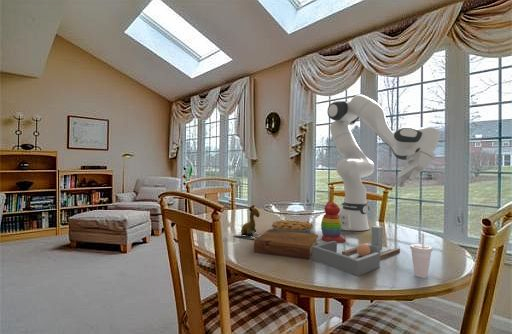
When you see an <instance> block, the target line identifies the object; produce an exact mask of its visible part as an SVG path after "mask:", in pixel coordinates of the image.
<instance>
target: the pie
mask: <svg viewBox="0 0 512 334" xmlns="http://www.w3.org/2000/svg"><path fill="white" fill-rule="evenodd" d="M289 220H290V219H287V220H285V219H280V220H279V221H278V220H277V221H273V222H272V225H271V227H272V228H273V230H275V231H285V232H296V233H307V234H311V230H312V229H313V228H314V225H313V223H310V222H309V221H304V222H300V221H301V220H298V221H289Z"/></svg>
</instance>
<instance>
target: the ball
mask: <svg viewBox="0 0 512 334" xmlns="http://www.w3.org/2000/svg"><path fill="white" fill-rule="evenodd" d="M356 247H357V253H356V254H358V255H359V257H364V256H366V255H369V254H371V253H370V248H369V246H368V245H366V244H365V243H360V244H358V245H357V246H356Z"/></svg>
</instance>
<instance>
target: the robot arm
mask: <svg viewBox="0 0 512 334" xmlns="http://www.w3.org/2000/svg"><path fill="white" fill-rule="evenodd" d="M326 112H327V116H328V118H329V119H330V120H332V121H333V122H331V124H330V127H329V130H330V134H331V137H332V140H333V143H334V145H335V147H336V151H337V152H338V154H339V155H340V156H341V157H343V159H341V160H339V161H338V162H337V163H336V169H335V170H336V173H337V175H338V176H339V177H340V178H341V181H342V182H343V186H344V194H345V195H344V197H345V198H344V200H345V201H344V202H342V203H340V204H341V206H342V208H340V212H339V213H338V215H339V218H340V221H341V230H344V231H363V232H364V231H368V230H370V227H369V223H368V216H367V215H368V214H367V212H368V203H367V188H366V187H365V186H364V184H363V182H362V178H366V177H369V176H370V175H372V174H373V173H374V172H375V163H374V162H373V161H372V159H369V157H367V156H366V154H364V152H363V150H362V149H361V148H360V147H359V145H358V143H357V142H356V141H357V140H356V139H355V137H354V135H353V133H352V130H351V128H350V126H353V125H354V124H355V123H356V122H357V121H358V120H361V121H362V122H363V123H364V124H366V125H367V126H368V127H369V128H370V129H371V130H372V131H373V132H374V133H375V134H376V135H377V136H378V138H380V139H381V141H383V142H384V143H385V144H386V145H387V146H388V147H389V148H390V149H391V151H392V154H393V155H394V157H395V158H397V159H398V160H402V161H407V164H406V165H404V166H403V167H402V169H401V171H400V172H399V174H398V175H397V177H396V178H397V180H398V181H399V183H398V187H400V188H403V187H404V186H405V184H406V182H408V181H410V182H413V181H415V179H416V177H418V175H419V174H420V173H422V172H423V171H425V170H427V168H428V167H429V165H430V163H431V162H432V160H433V159H434V158H436V153H434V152H435V151H436V148H437V147H438V145H439V143H440V139H441V135H440V134H441V133H440V132H439V130H437V128H435V127H433V126H428V125H427V126H423V127H420V128H419V127H417V128H414V127H409V126H402V127H399V128H397V129H396V130H395V132H393V130H391V129H390V127H389V125H388V122H387V119H386V115H385V110H384V109H383V107H382V106H381V105H380V104H379V103H378V102H376V101H375V100H374V99H372V98H369V96H366V95H363V94H357V95H355V96H353V98H351V100H350V101H345V100H338V101H333V102H331V103H330V104H329V106H328V107H327V111H326Z"/></svg>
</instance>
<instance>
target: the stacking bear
mask: <svg viewBox="0 0 512 334" xmlns="http://www.w3.org/2000/svg"><path fill="white" fill-rule="evenodd" d="M340 210H341V208H340V207H339V206H338V204H337V203H336V202H335V203H334V202H330V201H327V202H326V204H325V206H324V212H325V214H324V215H323V216H322V219H321V225H320V228H321V233H322V235H321V240H322V241H324V242H326V243H327V242H330V241H337V243H345V242H346V238H345V237H343V236H341V231H342V229H341V221H340V218H339V215H338V213H339V212H340Z"/></svg>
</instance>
